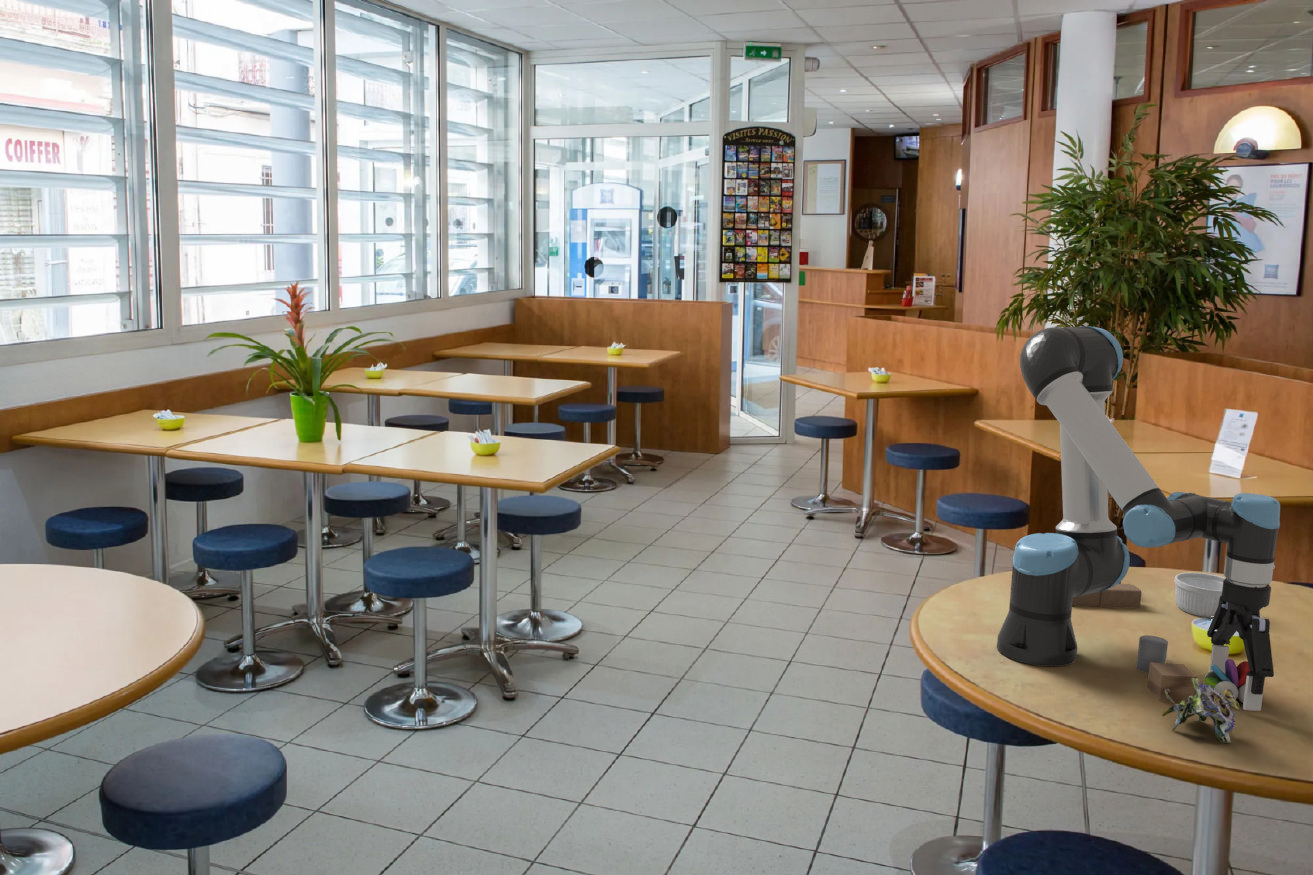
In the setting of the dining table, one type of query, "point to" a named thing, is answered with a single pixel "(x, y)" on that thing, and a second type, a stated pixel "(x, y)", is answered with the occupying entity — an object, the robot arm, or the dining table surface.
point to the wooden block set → (1112, 597)
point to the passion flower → (1207, 709)
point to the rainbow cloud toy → (1229, 678)
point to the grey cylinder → (1151, 652)
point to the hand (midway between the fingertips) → (1233, 693)
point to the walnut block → (1170, 681)
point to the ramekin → (1198, 593)
